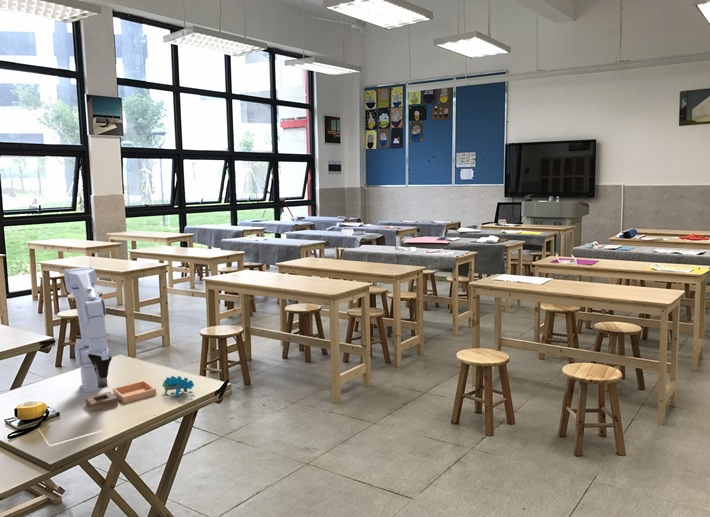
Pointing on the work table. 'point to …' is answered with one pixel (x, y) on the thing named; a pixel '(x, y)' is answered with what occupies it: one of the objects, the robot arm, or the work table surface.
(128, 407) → the work table surface
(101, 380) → the pin
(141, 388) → the tray
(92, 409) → the pin block
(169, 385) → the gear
